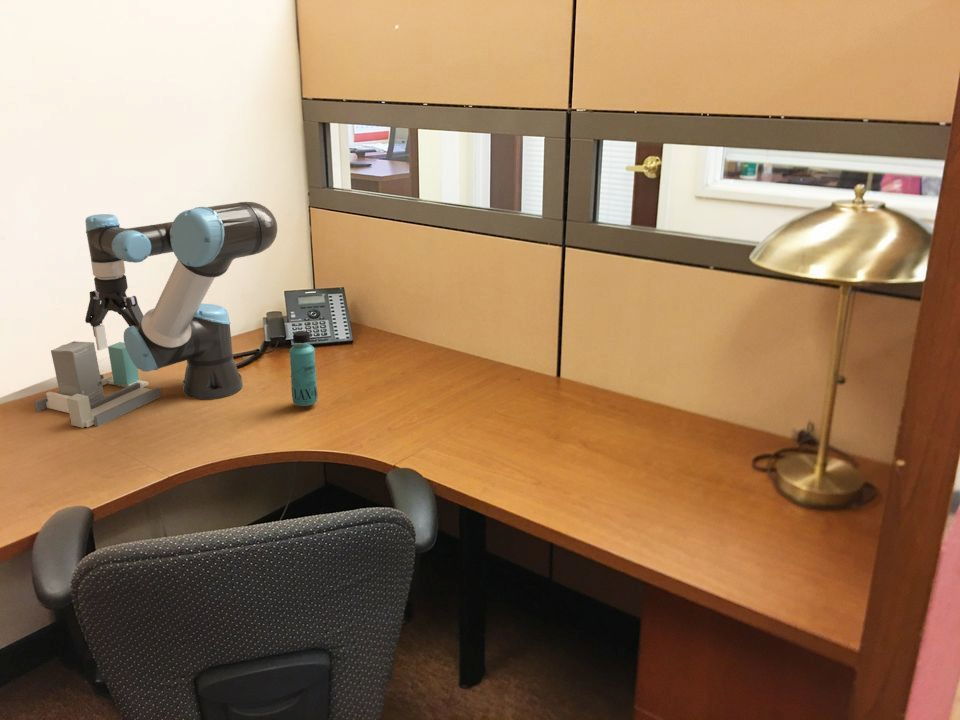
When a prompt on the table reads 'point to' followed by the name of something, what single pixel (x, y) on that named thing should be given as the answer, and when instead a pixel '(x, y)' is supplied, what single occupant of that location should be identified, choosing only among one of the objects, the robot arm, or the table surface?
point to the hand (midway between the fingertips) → (121, 353)
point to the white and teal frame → (122, 376)
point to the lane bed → (116, 410)
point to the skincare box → (78, 370)
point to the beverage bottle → (303, 370)
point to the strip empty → (85, 415)
